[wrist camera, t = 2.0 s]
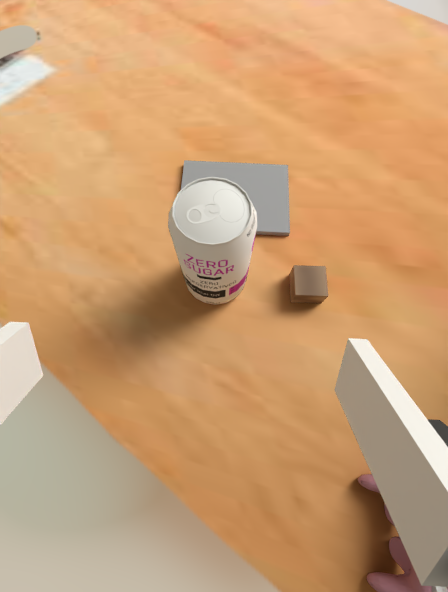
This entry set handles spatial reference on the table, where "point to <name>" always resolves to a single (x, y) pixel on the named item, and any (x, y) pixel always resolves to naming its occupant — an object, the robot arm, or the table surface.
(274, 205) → the grey rubber mat
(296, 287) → the walnut block
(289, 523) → the table surface
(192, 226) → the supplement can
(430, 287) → the table surface
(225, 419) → the table surface
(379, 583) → the video game controller
